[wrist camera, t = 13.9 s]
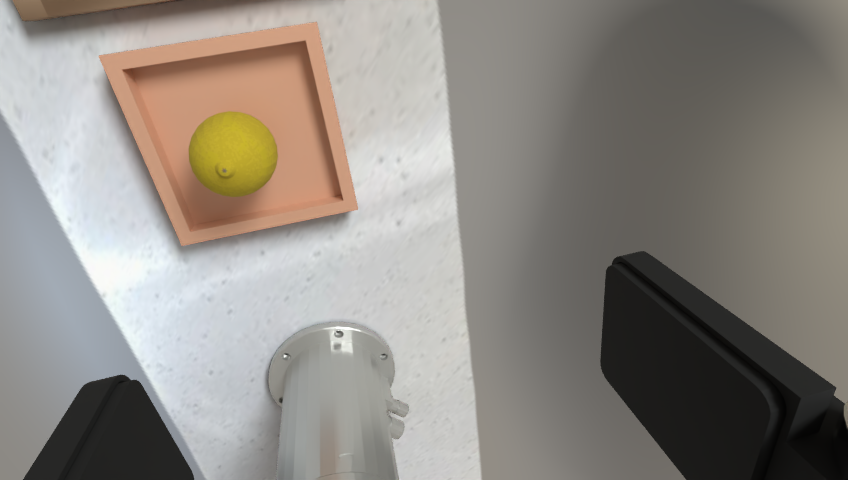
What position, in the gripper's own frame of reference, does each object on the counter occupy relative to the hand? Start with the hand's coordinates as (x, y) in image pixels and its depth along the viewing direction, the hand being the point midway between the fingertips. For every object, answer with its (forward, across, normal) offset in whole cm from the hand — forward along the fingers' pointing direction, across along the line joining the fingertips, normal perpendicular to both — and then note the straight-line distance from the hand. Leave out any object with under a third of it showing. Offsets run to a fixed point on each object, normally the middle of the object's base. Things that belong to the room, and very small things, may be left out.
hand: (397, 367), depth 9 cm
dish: (+30, +7, +1) cm, 31 cm away
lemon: (+30, +8, +1) cm, 30 cm away
